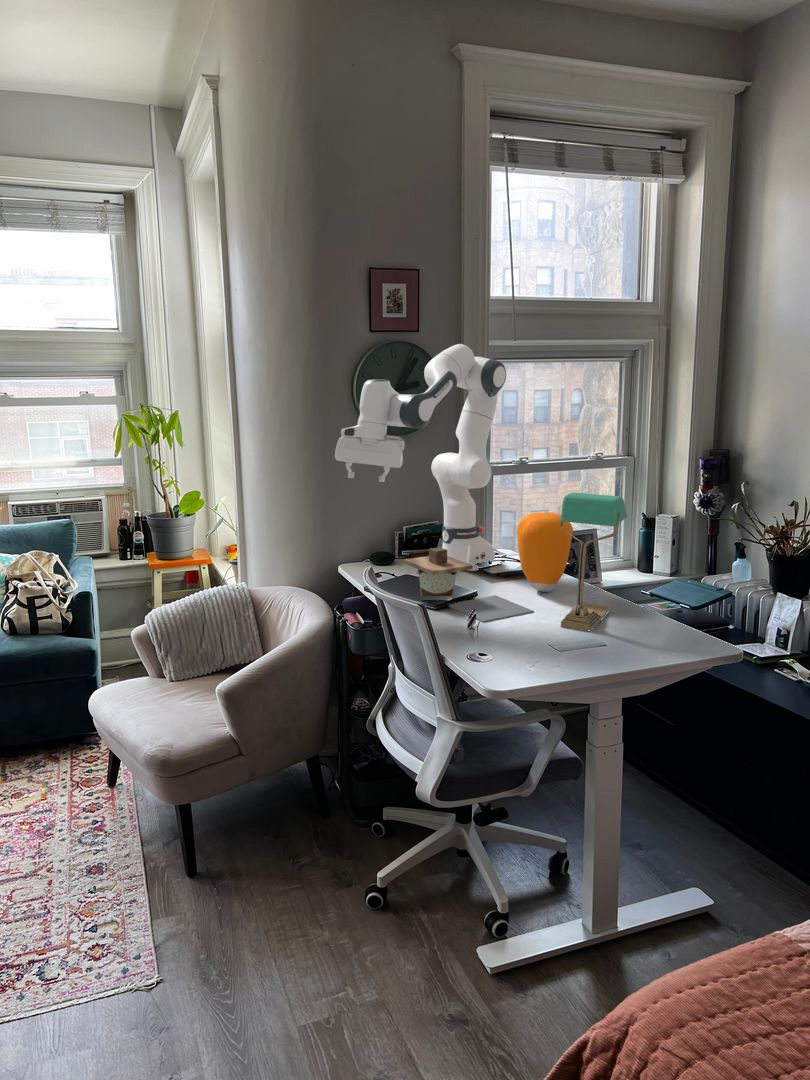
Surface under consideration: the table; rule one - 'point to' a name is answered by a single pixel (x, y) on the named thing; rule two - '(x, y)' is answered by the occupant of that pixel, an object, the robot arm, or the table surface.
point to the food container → (437, 584)
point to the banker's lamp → (586, 512)
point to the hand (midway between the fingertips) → (366, 479)
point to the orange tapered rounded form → (543, 548)
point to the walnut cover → (438, 562)
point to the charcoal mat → (490, 608)
